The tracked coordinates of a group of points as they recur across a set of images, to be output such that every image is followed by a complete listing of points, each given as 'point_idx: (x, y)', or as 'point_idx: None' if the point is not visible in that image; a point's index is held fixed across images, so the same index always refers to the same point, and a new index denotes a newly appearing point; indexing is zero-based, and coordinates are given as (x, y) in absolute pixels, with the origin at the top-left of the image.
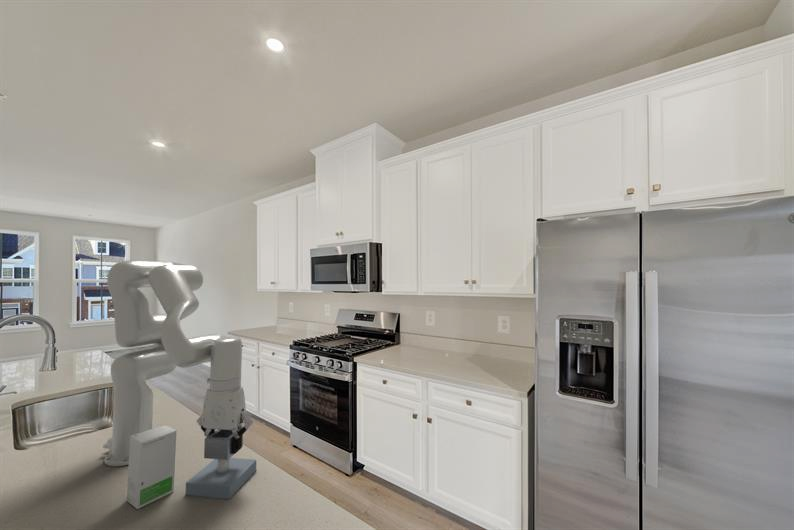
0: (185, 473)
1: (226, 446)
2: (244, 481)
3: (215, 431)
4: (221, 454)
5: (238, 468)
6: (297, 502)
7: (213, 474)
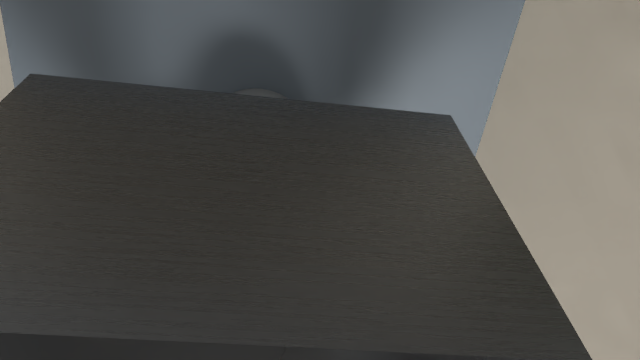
0: (618, 182)
1: None
2: None
3: None
4: (125, 121)
5: None
6: None
7: (318, 73)
